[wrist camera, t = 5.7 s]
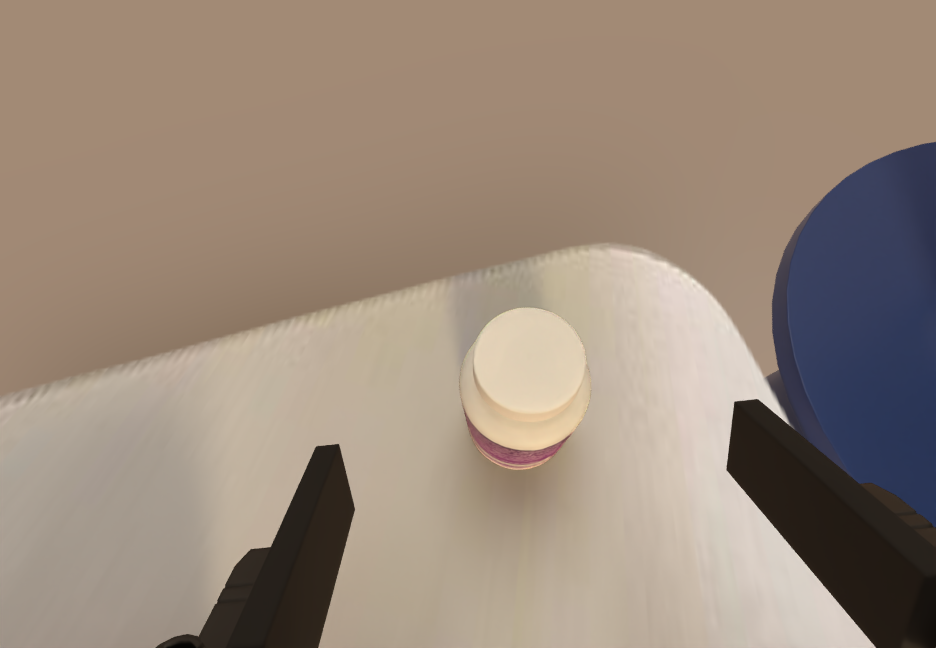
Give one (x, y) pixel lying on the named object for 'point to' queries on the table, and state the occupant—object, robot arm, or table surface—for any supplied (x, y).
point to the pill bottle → (524, 387)
